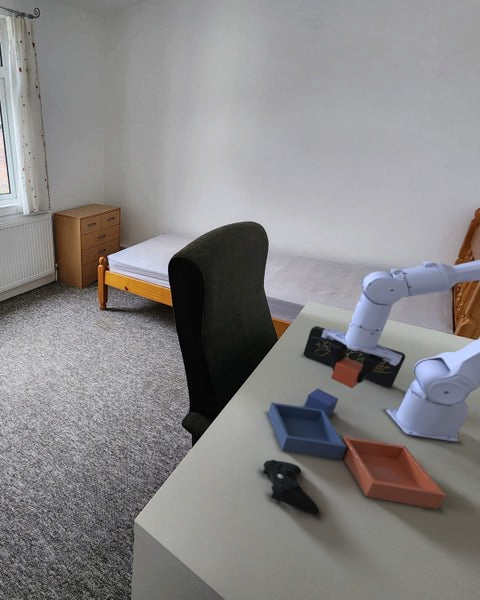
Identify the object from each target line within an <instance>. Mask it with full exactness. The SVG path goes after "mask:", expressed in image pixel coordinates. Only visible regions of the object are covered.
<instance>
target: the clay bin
mask: <svg viewBox="0 0 480 600" xmlns="http://www.w3.org/2000/svg"><path fill="white" fill-rule="evenodd" d="M341 439H342V440H343V442H344V444H345V445H346V450H345V452H344V454H343V456H342V459H343V460H344V462H345V463H346V465H347V466H348V468H349V470H350V472H351V473H352V476H353V477H354V478H355V480H356V481H357V484H358V485H359V487H360V488H361V490H362V492H363V494H364V495H365V497H367V498H368V497H369V498H373V499H380V500H385V501H391V502H396V503H401V504H406V505H407V504H408V505H412V506H418V507H423V508H429V509H434V510H438V509H439V507H440V506H441V504H442V502H443V501H444V499H445V498H446V496H447V495H446V494H445V493H444V492H443V490H442V489H441V488H440V486H439V485H438V484H437V483H436V482H435V480H434V479H433V478H432V477H431V476H430V474H429V473H428V472H427V471H426V469H425V468H424V467H423V466H422V465H421V463H420V462H419V461H418V460H417V459H416V457H415V456H414V455H413V454H412V452H411V451H410V450H409V448H407V446H406V445H401V444H394V443H393V444H392V443H388V442H380V441H375V440H367V439H361V438H355V437H348V436H343V437H342V438H341Z"/></svg>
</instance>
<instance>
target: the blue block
mask: <svg viewBox="0 0 480 600" xmlns="http://www.w3.org/2000/svg"><path fill="white" fill-rule="evenodd" d="M338 402H339V398H338V397H336V396H335V395H332V394H330V393H329V392H326V391H324V390H322V389H319V388H316V389H315V390H313V391H312V392H310V393H309V394H308V395H307V398H306V400H305V403H304V406H303V407H307V408H315V409H322V410H324V412H325V413H326V415H327V416H328V418H329V417H331V416H332V415H333V414H334V412H335V409H336V406H337V404H338Z"/></svg>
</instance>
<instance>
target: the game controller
mask: <svg viewBox="0 0 480 600" xmlns="http://www.w3.org/2000/svg"><path fill="white" fill-rule="evenodd" d="M263 467H264V469H263V471H262V474H264V475H267V476H269V477H270V481H271V484H272V485H271V492H272V493H271V495H270V498H271V499H273V500H275V501H276V502H281V503H284V504H287V505H288V506H291V507H293V508H296V509H298V510H300V511H303V512H304V513H309V514H312V515H319V514H320V509H319V507H318V505H317V503H316V502H315V501H314V500H313V499H312V498H311V496H309V495H308V494H307V493H306V492H305V490H304V489H303V488H302V486H301V484H300V482H299V480H298V477H297V476H300V475H301V474H302V469H301V467H300V466H299V465H297V464H295V463H293V462H292V463H291V462H288V461H282V460H276V459H269V460H266V461H265V462H264V463H263Z"/></svg>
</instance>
